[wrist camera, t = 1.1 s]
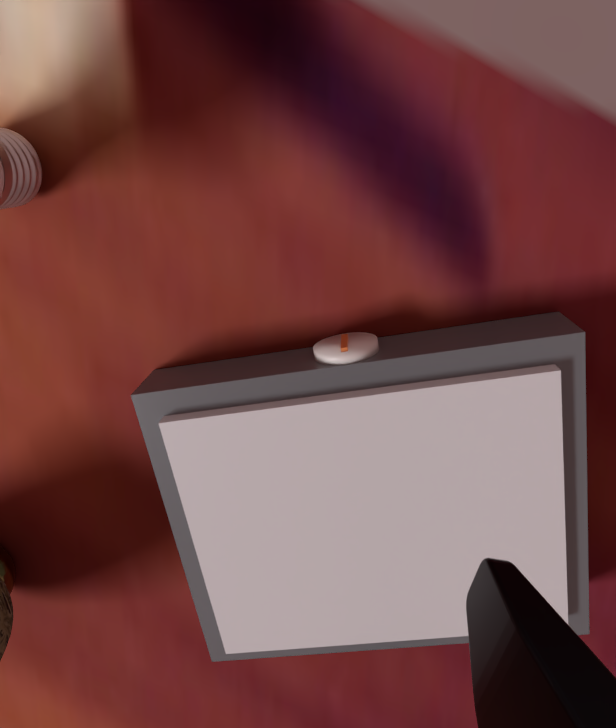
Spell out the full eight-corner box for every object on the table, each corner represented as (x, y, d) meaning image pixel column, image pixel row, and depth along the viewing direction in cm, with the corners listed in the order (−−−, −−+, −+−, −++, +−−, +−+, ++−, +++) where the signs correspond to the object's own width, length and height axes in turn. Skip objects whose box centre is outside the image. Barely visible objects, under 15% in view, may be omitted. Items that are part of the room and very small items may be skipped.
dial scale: (567, 588, 26) (595, 645, 23) (224, 616, 28) (208, 673, 25) (558, 297, 21) (592, 320, 18) (150, 357, 23) (120, 387, 20)
